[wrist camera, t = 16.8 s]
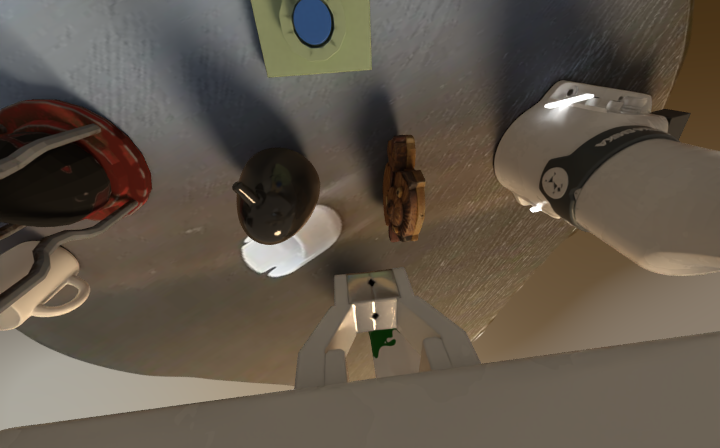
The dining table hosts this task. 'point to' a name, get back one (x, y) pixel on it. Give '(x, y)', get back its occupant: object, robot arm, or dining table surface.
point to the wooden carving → (403, 191)
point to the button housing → (298, 57)
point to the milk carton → (393, 353)
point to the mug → (63, 271)
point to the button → (312, 21)
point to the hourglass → (63, 177)
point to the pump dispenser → (276, 195)
